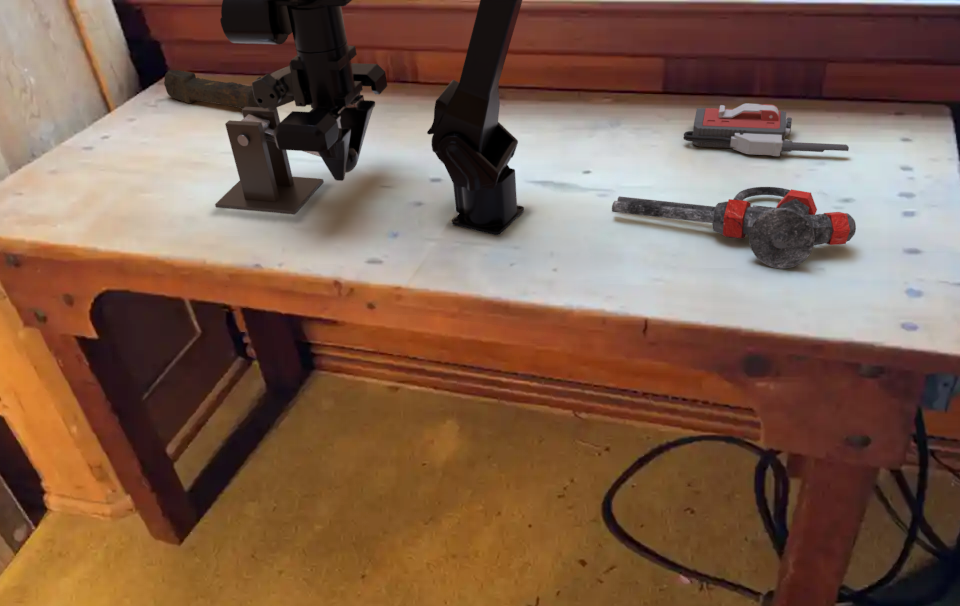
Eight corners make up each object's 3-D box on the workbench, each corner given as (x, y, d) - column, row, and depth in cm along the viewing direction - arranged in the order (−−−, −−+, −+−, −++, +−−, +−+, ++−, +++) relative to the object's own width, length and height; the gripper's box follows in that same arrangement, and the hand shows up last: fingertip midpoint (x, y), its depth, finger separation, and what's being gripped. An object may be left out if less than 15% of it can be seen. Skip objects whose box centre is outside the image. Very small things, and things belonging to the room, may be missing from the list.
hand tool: (270, 106, 139) (263, 77, 136) (253, 116, 136) (246, 87, 133) (181, 91, 147) (173, 63, 144) (163, 100, 145) (155, 72, 142)
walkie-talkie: (680, 154, 116) (847, 162, 111) (683, 122, 113) (853, 129, 108) (687, 125, 122) (844, 132, 117) (689, 94, 119) (850, 99, 114)
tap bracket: (324, 187, 116) (308, 103, 109) (295, 220, 110) (276, 133, 103) (249, 181, 119) (228, 99, 112) (217, 212, 113) (192, 128, 106)
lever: (361, 168, 110) (363, 142, 107) (349, 182, 107) (351, 155, 105) (251, 133, 112) (251, 107, 109) (237, 146, 109) (236, 119, 106)
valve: (862, 226, 102) (843, 279, 91) (640, 201, 113) (599, 245, 101) (871, 172, 99) (853, 219, 88) (642, 151, 110) (600, 191, 98)
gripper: (293, 15, 108) (318, 136, 118) (214, 74, 95) (250, 205, 104) (378, 16, 105) (397, 140, 115) (310, 77, 91) (337, 212, 101)
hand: (346, 172), depth 109 cm, fingers closed on lever, 3 cm apart
